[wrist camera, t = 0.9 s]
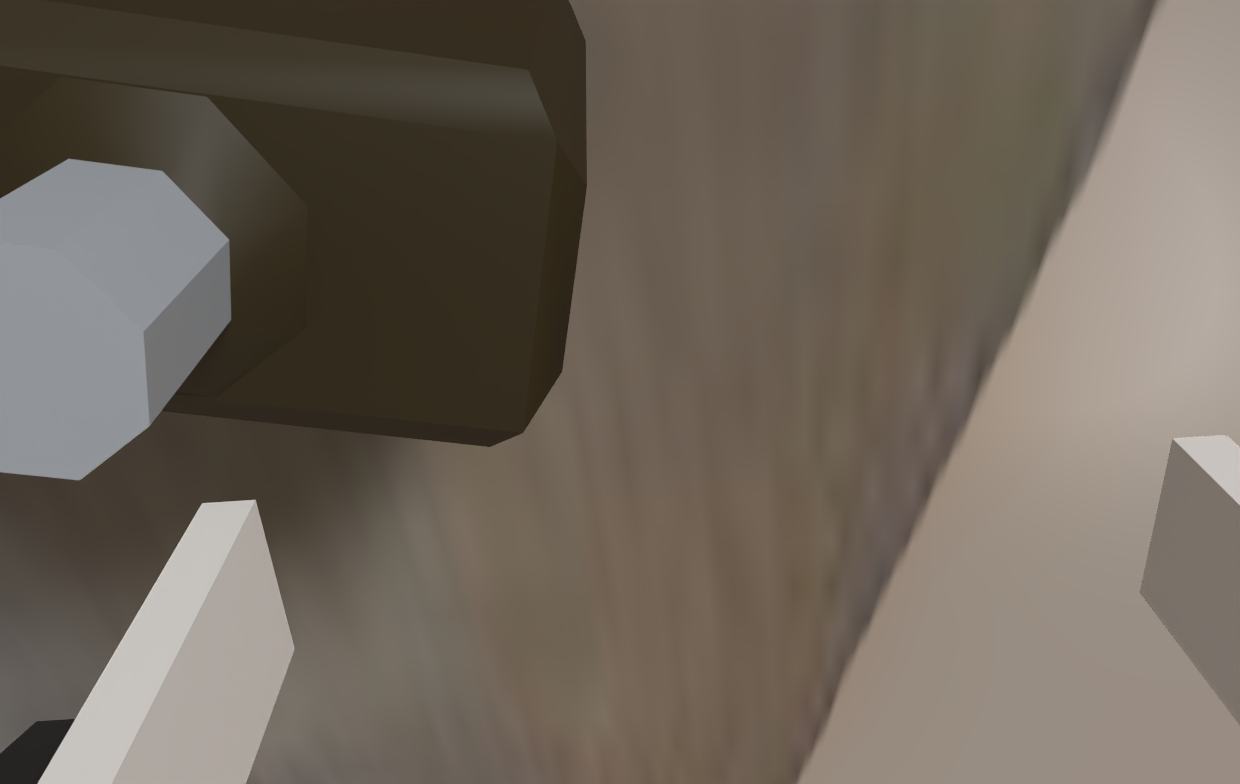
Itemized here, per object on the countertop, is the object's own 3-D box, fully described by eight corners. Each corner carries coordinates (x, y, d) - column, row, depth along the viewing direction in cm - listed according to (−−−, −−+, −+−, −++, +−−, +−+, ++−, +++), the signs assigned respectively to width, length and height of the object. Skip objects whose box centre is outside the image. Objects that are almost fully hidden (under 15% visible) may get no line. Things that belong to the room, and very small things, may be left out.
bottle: (114, -97, 35) (-730, -17, 12) (592, -24, 36) (607, 164, 14) (130, 142, 38) (-505, 538, 16) (565, 200, 40) (540, 635, 17)
